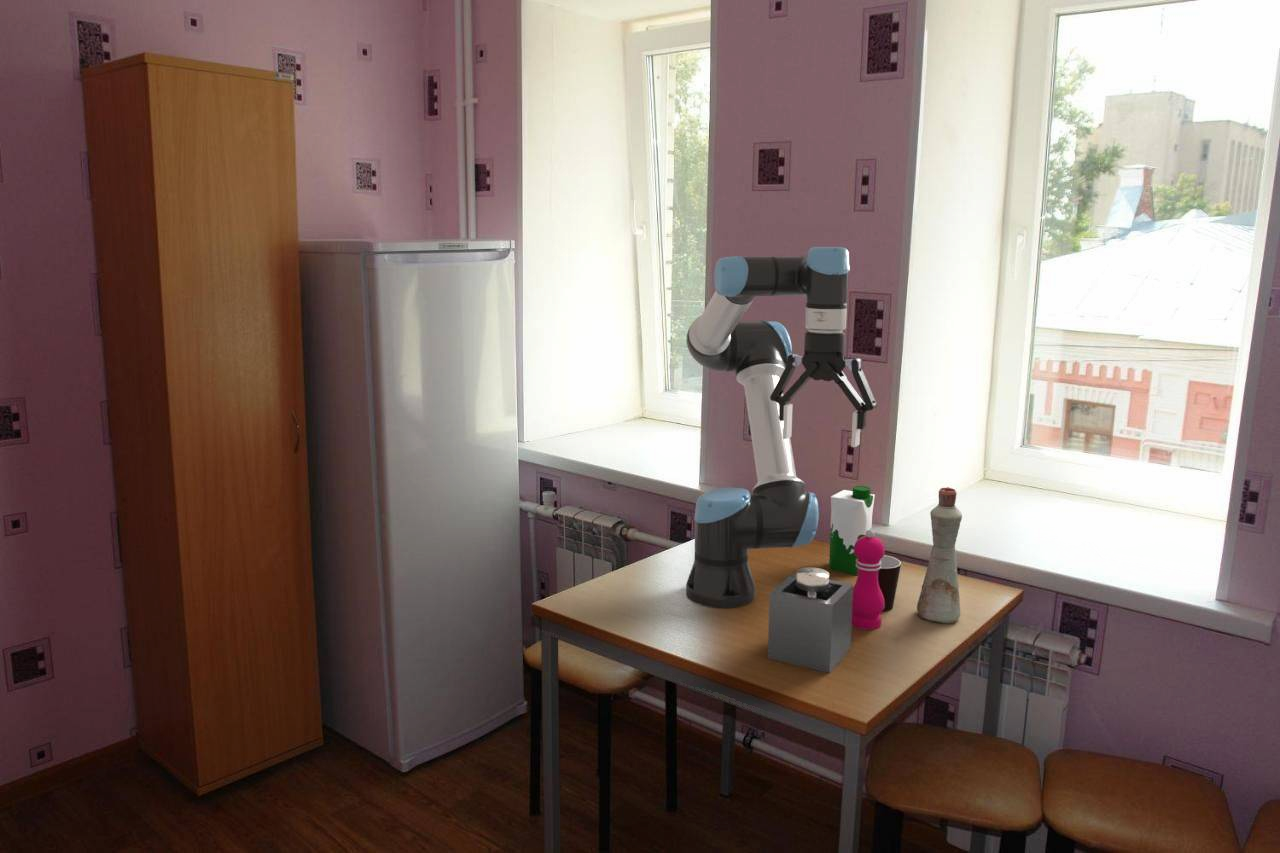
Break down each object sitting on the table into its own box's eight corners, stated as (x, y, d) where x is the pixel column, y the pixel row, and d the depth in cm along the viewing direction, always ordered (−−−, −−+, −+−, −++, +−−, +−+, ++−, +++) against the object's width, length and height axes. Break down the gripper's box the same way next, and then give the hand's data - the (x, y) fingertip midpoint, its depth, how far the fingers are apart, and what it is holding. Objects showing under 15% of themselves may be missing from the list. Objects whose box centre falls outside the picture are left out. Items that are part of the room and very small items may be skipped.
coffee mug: (899, 615, 196) (902, 569, 194) (857, 611, 198) (859, 566, 196) (896, 594, 208) (898, 551, 206) (856, 591, 209) (858, 548, 207)
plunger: (781, 650, 177) (784, 575, 174) (797, 634, 184) (800, 562, 181) (822, 659, 173) (826, 583, 170) (837, 643, 180) (840, 570, 177)
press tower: (767, 658, 176) (769, 592, 174) (791, 635, 187) (793, 572, 184) (829, 673, 170) (832, 605, 168) (850, 648, 181) (853, 584, 178)
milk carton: (859, 577, 218) (863, 494, 214) (823, 569, 223) (827, 487, 219) (874, 567, 225) (878, 485, 221) (838, 559, 230) (842, 479, 226)
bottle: (910, 620, 194) (919, 488, 189) (922, 605, 202) (931, 478, 196) (953, 629, 190) (963, 494, 184) (964, 614, 197) (974, 484, 192)
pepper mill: (844, 616, 196) (848, 523, 192) (879, 616, 196) (884, 524, 192) (850, 630, 189) (855, 535, 185) (887, 631, 189) (892, 535, 185)
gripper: (755, 328, 179) (752, 438, 184) (886, 336, 167) (879, 453, 171) (770, 325, 186) (767, 431, 190) (897, 332, 174) (890, 445, 178)
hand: (820, 441), depth 181 cm, fingers open, 13 cm apart
